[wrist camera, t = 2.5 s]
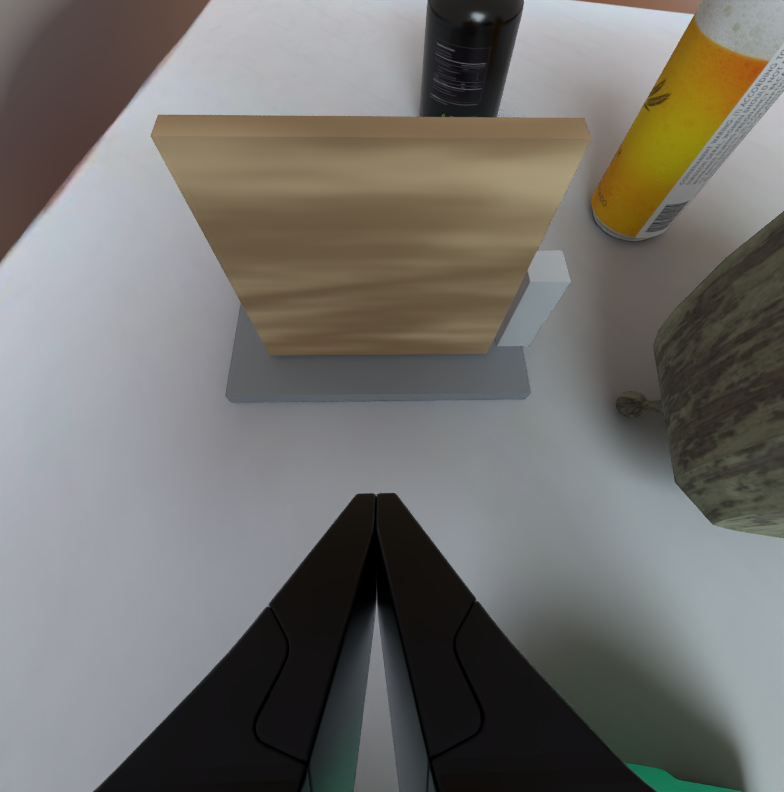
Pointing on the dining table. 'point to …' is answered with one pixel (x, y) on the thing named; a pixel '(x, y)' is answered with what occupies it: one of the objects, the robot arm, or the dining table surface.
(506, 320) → the housing stand
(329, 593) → the robot arm
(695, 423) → the tabletop clock
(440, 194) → the door
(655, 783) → the camera mount
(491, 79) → the supplement bottle
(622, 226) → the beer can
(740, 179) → the dining table surface
